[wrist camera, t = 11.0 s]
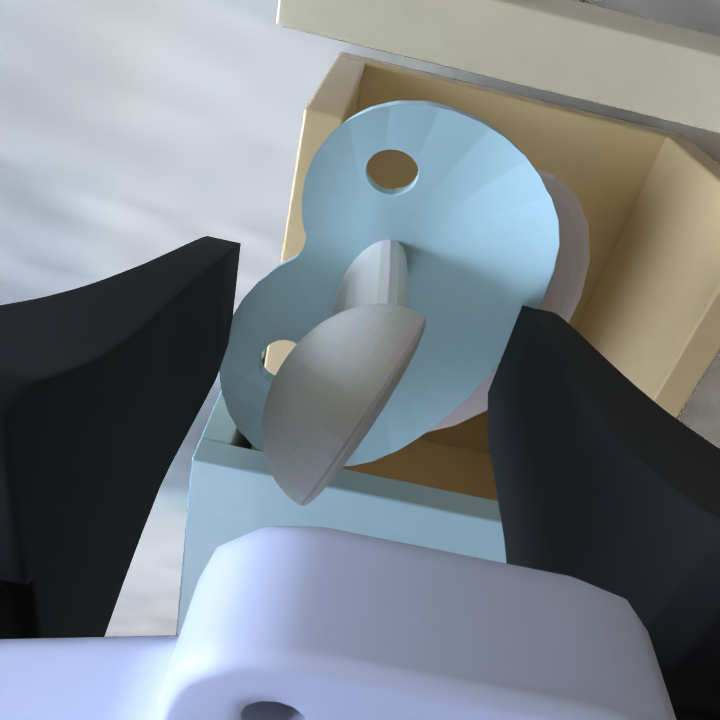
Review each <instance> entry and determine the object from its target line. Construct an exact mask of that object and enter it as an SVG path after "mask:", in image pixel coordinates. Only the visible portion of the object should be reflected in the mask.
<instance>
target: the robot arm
mask: <svg viewBox="0 0 720 720" xmlns="http://www.w3.org/2000/svg"><path fill="white" fill-rule="evenodd" d="M240 244H241V243H236V242H232V241H227V240H222V239H218V238H213V237H209V236H206V237H203V238H200V239H198V240H195V241H193V242H191V243H189V244H186V245H184V246H182V247H180V248H178V249H176V250H174V251H171V252H169V253H167V254H165V255H163V256H160V257H158V258H156V259H154V260H151V261H149V262H147V263H145V264H143V265H140V266H138V267H135V268H133V269H130V270H127V271H125V272H122V273H119V274H117V275H114V276H112V277H109V278H106V279H104V280H101V281H99V282H96V283H93V284H90V285H87V286H83V287H80V288H77V289H73V290H70V291H66V292H62V293H58V294H54V295H51V296H47V297H43V298H38V299H34V300H28V301H23V302H17V303H11V304H6V305H0V720H720V449H719V448H718V447H716V446H715V445H713V444H712V443H710V442H708V441H707V440H706V439H704V438H703V437H701V436H700V435H698V434H697V433H696V432H694V431H693V430H691V429H690V428H689V427H687V426H686V425H684V424H683V423H682V422H680V421H679V420H677V419H676V418H675V417H673V416H672V415H671V414H669V413H668V412H667V411H666V410H664V409H663V408H662V407H660V406H659V405H658V404H657V403H656V402H654V401H653V400H652V399H651V398H650V397H648V396H647V395H646V394H645V393H644V392H642V391H641V390H640V389H639V388H638V387H637V386H635V385H634V384H633V383H632V382H631V381H630V380H629V379H628V378H626V377H625V376H624V375H623V374H622V373H621V372H620V371H619V370H618V369H616V368H615V367H614V366H613V365H612V364H611V363H610V362H609V361H608V360H607V359H606V358H605V357H604V356H603V355H602V354H601V353H599V352H598V351H597V350H596V349H595V348H594V347H593V346H592V345H591V344H590V343H589V342H588V341H587V340H586V339H585V338H584V337H583V336H582V335H581V334H580V333H579V332H577V331H576V330H575V329H574V328H573V327H572V326H571V325H570V324H569V323H568V322H566V321H565V320H564V319H563V318H562V317H560V316H559V315H557V314H556V313H554V312H550V311H545V310H541V309H534V308H531V307H527V306H523V305H522V307H521V310H520V313H519V315H518V318H517V320H516V323H515V325H514V328H513V330H512V333H511V335H510V338H509V340H508V343H507V345H506V348H505V351H504V353H503V356H502V358H501V361H500V363H499V366H498V368H497V371H496V373H495V376H494V378H493V381H492V383H491V386H490V389H489V391H488V441H489V448H490V455H491V461H492V468H493V474H494V480H495V486H496V492H497V498H498V504H499V510H500V516H501V523H502V529H503V535H504V544H505V553H506V563H502V562H497V561H492V560H487V559H482V558H477V557H472V556H467V555H462V554H457V553H452V552H447V551H442V550H437V549H432V548H427V547H422V546H417V545H412V544H407V543H402V542H397V541H392V540H387V539H382V538H377V537H372V536H367V535H362V534H357V533H352V532H347V531H342V530H337V529H332V528H327V527H295V526H268V527H263V528H260V529H258V530H256V531H253V532H251V533H249V534H246V535H244V536H242V537H239V538H237V539H235V540H232V541H230V542H228V543H225V544H223V545H221V546H218V547H217V548H216V550H215V552H214V554H213V555H212V557H211V559H210V561H209V562H208V564H207V566H206V568H205V569H204V571H203V573H202V574H201V576H200V578H199V580H198V583H197V586H196V589H195V591H194V594H193V597H192V600H191V603H190V606H189V609H188V612H187V615H186V618H185V621H184V624H183V627H182V630H181V633H180V635H170V636H123V637H104V636H105V633H106V630H107V627H108V624H109V622H110V619H111V616H112V613H113V610H114V608H115V605H116V602H117V599H118V596H119V593H120V591H121V588H122V585H123V582H124V580H125V577H126V574H127V572H128V569H129V566H130V563H131V561H132V558H133V555H134V553H135V550H136V547H137V545H138V542H139V539H140V537H141V534H142V531H143V529H144V526H145V524H146V521H147V519H148V516H149V514H150V511H151V508H152V506H153V503H154V501H155V498H156V496H157V493H158V490H159V488H160V486H161V484H162V482H163V479H164V477H165V475H166V473H167V471H168V469H169V467H170V465H171V463H172V461H173V459H174V457H175V455H176V454H177V452H178V450H179V448H180V446H181V444H182V442H183V440H184V439H185V437H186V435H187V433H188V431H189V429H190V427H191V425H192V424H193V422H194V420H195V418H196V416H197V414H198V412H199V410H200V409H201V407H202V405H203V403H204V401H205V399H206V397H207V395H208V393H209V391H210V390H211V388H212V386H213V384H214V382H215V380H216V377H217V374H218V372H219V369H220V366H221V363H222V361H223V358H224V355H225V352H226V349H227V346H228V342H229V336H230V330H231V324H232V317H233V308H234V299H235V290H236V281H237V271H238V262H239V253H240Z"/></svg>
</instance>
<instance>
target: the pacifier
mask: <svg viewBox="0 0 720 720" xmlns="http://www.w3.org/2000/svg"><path fill="white" fill-rule="evenodd" d="M387 149H392V150H399V151H402V152H404V153H406V154H408V155H409V156H410V157H412V158H413V160H414V161H415V162H416V164H417V167H418V174H417V176H416V178H415V180H414V181H413V182H412V183H411V184H409V185H407V186H405V187H401V188H396V189H387V188H384V187H381V186H379V185H378V184H376V183H375V182H374V181H373V180H372V179H371V177H370V176H369V174H368V171H367V163H368V160H369V159H370V158H371V157H372V156H373V155H374V154H376V153H378V152H379V151H383V150H387ZM302 222H303V228H304V231H305V234H306V240H305V244H304V247H303V249H302V250H301V252H300V253H299V254H298V255H296V256H294V257H292V258H290V259H288V260H287V261H285V262H283V263H281V264H279V265H278V266H277V267H275V268H274V269H273V270H272V271H270V272H269V273H268V274H267V275H266V276H264V277H263V278H262V279H261V280H260V281H259V282H258V283H257V284H256V285H255V286H254V287H253V289H252V290H251V291H250V292H249V293H248V294H247V295H246V296H245V298H244V299H243V300H242V302H241V304H240V305H239V307H238V309H237V310H236V312H235V313H234V315H233V317H232V324H231V330H230V336H229V342H228V346H227V349H226V352H225V355H224V358H223V361H222V363H221V366H220V369H219V370H220V380H221V389H222V395H223V397H224V400H225V403H226V406H227V409H228V412H229V415H230V416H231V418H232V420H233V422H234V423H235V425H236V427H237V428H238V430H239V432H241V433H242V434H243V435H244V436H245V437H246V438H247V440H248V441H249V442H250V443H251V444H252V445H253V446H254V447H256V448H257V449H259V450H260V451H262V452H263V453H264V455H265V459H266V462H267V465H268V467H269V470H270V472H271V474H272V476H273V478H274V479H275V481H276V483H277V484H278V485H279V487H280V488H281V489H282V490H283V492H284V493H285V494H286V495H287V496H288V497H289V498H291V499H292V500H293V501H294V502H296V503H297V504H299V505H300V504H301V506H305V505H307V504H308V503H310V502H311V501H313V500H314V499H315V498H316V497H317V496H318V495H319V494H320V493H321V492H322V491H323V490H324V489H325V488H326V486H327V485H328V484H329V483H330V482H331V481H332V480H333V479H334V477H335V476H336V475H337V474H338V472H339V471H340V470H341V469H342V467H343V466H353V465H357V464H362V463H367V462H372V461H375V460H377V459H379V458H381V457H383V456H386V455H388V454H390V453H393V452H396V451H398V450H399V449H401V448H403V447H404V446H406V445H408V444H409V443H411V442H413V441H414V440H416V439H417V438H419V437H420V436H422V435H423V434H424V433H426V432H430V431H434V430H438V429H442V428H446V427H450V426H454V425H457V424H459V423H461V422H463V421H465V420H467V419H470V418H472V417H474V416H476V415H478V414H480V413H482V412H485V411H486V410H487V409H488V391H489V389H490V386H491V383H492V381H493V378H494V376H495V373H496V371H497V368H498V366H499V363H500V361H501V358H502V356H503V353H504V351H505V348H506V345H507V343H508V340H509V338H510V335H511V333H512V330H513V328H514V325H515V323H516V320H517V318H518V315H519V313H520V310H521V307H522V305H523V306H527V307H531V308H534V309H541V310H545V311H550V312H554V313H556V314H557V315H559V316H560V317H562V318H563V319H564V320H565V321H566V322H568V323H569V321H570V319H571V317H572V315H573V313H574V310H575V308H576V306H577V304H578V302H579V300H580V298H581V295H582V290H583V286H584V282H585V278H586V274H587V269H588V265H589V261H590V250H589V225H588V222H587V220H586V218H585V215H584V213H583V210H582V208H581V205H580V203H579V200H578V198H577V196H576V195H575V194H574V193H573V192H572V191H571V190H570V189H569V188H568V187H567V186H566V185H565V184H564V183H563V182H562V181H560V180H559V179H558V178H557V177H556V176H555V175H553V174H550V173H547V172H544V171H541V170H538V169H535V168H534V166H533V165H532V164H531V162H530V161H529V160H528V158H527V157H526V155H525V154H524V153H523V151H522V150H521V149H520V148H519V147H518V146H517V145H515V144H514V143H513V142H512V141H511V140H510V139H509V138H508V137H507V136H506V135H505V134H504V133H502V132H501V131H499V130H498V129H496V128H495V127H493V126H492V125H490V124H489V123H487V122H486V121H484V120H482V119H481V118H479V117H477V116H474V115H472V114H470V113H467V112H465V111H462V110H460V109H458V108H455V107H452V106H448V105H444V104H440V103H436V102H430V101H393V102H388V103H384V104H380V105H375V106H372V107H369V108H367V109H365V110H363V111H361V112H359V113H357V114H356V115H354V116H352V117H351V118H349V119H348V120H346V121H345V122H344V123H342V124H341V125H340V126H339V127H337V128H336V129H335V130H334V131H333V132H332V133H331V134H330V135H329V136H328V137H327V138H326V140H325V141H324V142H323V144H322V145H321V146H320V148H319V149H318V151H317V152H316V153H315V155H314V157H313V159H312V162H311V164H310V167H309V169H308V172H307V174H306V177H305V182H304V188H303V194H302ZM278 340H288V341H292V342H294V343H296V344H297V345H296V346H295V347H294V348H293V349H292V351H291V352H290V353H289V354H288V356H287V357H286V359H285V360H284V362H283V363H282V365H281V366H280V368H279V370H278V372H277V374H276V375H273V374H272V373H270V372H268V371H267V370H266V368H265V367H264V365H263V362H262V352H263V351H264V349H265V348H266V347H267V346H268V345H270V344H271V343H273V342H276V341H278Z"/></svg>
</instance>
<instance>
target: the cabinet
mask: <svg viewBox="0 0 720 720" xmlns="http://www.w3.org/2000/svg"><path fill="white" fill-rule="evenodd" d="M266 352H267V347H266V348H265V349H264V351H263V352H262V362H263V365H265V358H266ZM251 448H252V444H251V443H250V442H249V441H248V440H247V438H246V437H245V436H244V435H243V434H242V433H241V432H239V430H238V428H237V427H236V425H235V423H234V422H233V420H232V418H231V416H230V415H229V412H228V409H227V406H226V403H225V400H224V397H223V395H222V389H221V391H220V394H219V396H218V398H217V401H216V403H215V405H214V408H213V410H212V412H211V415H210V417H209V419H208V422H207V424H206V426H205V429H204V431H203V433H202V436H201V439H200V441H199V443H198V445H197V448H196V450H195V452H194V455H193V457H192V462H191V474H190V485H189V496H188V508H187V519H186V530H185V542H184V553H183V564H182V576H181V587H180V598H179V610H178V621H177V632H176V635H180V633H181V630H182V627H183V624H184V621H185V618H186V615H187V612H188V609H189V606H190V603H191V600H192V597H193V594H194V591H195V589H196V586H197V583H198V580H199V578H200V576H201V574H202V573H203V571H204V569H205V568H206V566H207V564H208V562H209V561H210V559H211V557H212V555H213V554H214V552H215V550H216V548H217V547H218V546H221V545H223V544H225V543H228V542H230V541H232V540H235V539H237V538H239V537H242V536H244V535H246V534H249V533H251V532H253V531H256V530H258V529H260V528H263V527H268V526H295V527H327V528H332V529H337V530H342V531H347V532H352V533H357V534H362V535H367V536H372V537H377V538H382V539H387V540H392V541H397V542H402V543H407V544H412V545H417V546H422V547H427V548H432V549H437V550H442V551H447V552H452V553H457V554H462V555H467V556H472V557H477V558H482V559H487V560H492V561H497V562H502V563H506V553H505V544H504V535H503V529H502V523H501V516H500V510H499V504H498V501H496V500H492V499H487V498H482V497H477V496H472V495H468V494H463V493H458V492H453V491H448V490H444V489H439V488H434V487H429V486H424V485H420V484H415V483H410V482H405V481H400V480H396V479H391V478H386V477H381V476H377V475H372V474H367V473H362V472H357V471H353V470H348V469H343V468H342V469H341V470H340V471H339V472H338V474H337V475H336V476H335V477H334V479H333V480H332V481H331V482H330V483H329V484H328V485H327V486H326V488H325V489H324V490H323V491H322V492H321V493H320V494H319V495H318V496H317V497H316V498H315V499H314V500H313V501H311V502H310V503H308V504H307V505H305V506H301V504H300V505H299V504H297V503H296V502H294V501H293V500H292V499H291V498H289V497H288V496H287V495H286V494H285V493H284V492H283V490H282V489H281V488H280V487H279V485H278V484H277V483H276V481H275V479H274V478H273V476H272V474H271V472H270V470H269V467H268V465H267V462H266V459H265V455H264V453H263V452H262V451H257V450H252V449H251Z"/></svg>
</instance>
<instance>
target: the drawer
mask: <svg viewBox="0 0 720 720" xmlns="http://www.w3.org/2000/svg"><path fill="white" fill-rule="evenodd" d="M276 22H277V25H279V26H282V27H286V28H291V29H295V30H299V31H303V32H307V33H311V34H315V35H319V36H323V37H327V38H331V39H336V40H340V41H344V42H348V43H352V44H356V45H360V46H364V47H368V48H372V49H377V50H381V51H385V52H389V53H393V54H397V55H401V56H405V57H409V58H413V59H418V60H422V61H426V62H430V63H434V64H438V65H442V66H446V67H450V68H454V69H459V70H463V71H467V72H471V73H475V74H479V75H483V76H487V77H491V78H495V79H500V80H504V81H508V82H512V83H516V84H520V85H524V86H528V87H532V88H536V89H540V90H545V91H549V92H553V93H557V94H561V95H565V96H569V97H573V98H577V99H581V100H586V101H590V102H594V103H598V104H602V105H606V106H610V107H614V108H618V109H622V110H627V111H631V112H635V113H639V114H643V115H647V116H651V117H655V118H659V119H663V120H668V121H672V122H676V123H680V124H684V125H688V126H692V127H696V128H700V129H704V130H709V131H713V132H717V133H720V37H719V36H715V35H711V34H707V33H703V32H699V31H695V30H691V29H687V28H683V27H679V26H675V25H671V24H667V23H664V22H660V21H656V20H652V19H648V18H644V17H640V16H636V15H632V14H628V13H624V12H620V11H616V10H612V9H608V8H604V7H600V6H596V5H592V4H588V3H584V2H580V1H576V0H279V4H278V12H277V20H276ZM393 101H430V102H436V103H440V104H444V105H448V106H452V107H455V108H458V109H460V110H462V111H465V112H467V113H470V114H472V115H474V116H477V117H479V118H481V119H482V120H484V121H486V122H487V123H489V124H490V125H492V126H493V127H495V128H496V129H498V130H499V131H501V132H502V133H504V134H505V135H506V136H507V137H508V138H509V139H510V140H511V141H512V142H513V143H514V144H515V145H517V146H518V147H519V148H520V149H521V150H522V151H523V153H524V154H525V155H526V157H527V158H528V160H529V161H530V162H531V164H532V165H533V166H534V168H535V169H538V170H541V171H544V172H547V173H550V174H553V175H555V176H556V177H557V178H558V179H559V180H560V181H562V182H563V183H564V184H565V185H566V186H567V187H568V188H569V189H570V190H571V191H572V192H573V193H574V194H575V195H576V196H577V198H578V200H579V203H580V205H581V208H582V210H583V213H584V215H585V218H586V220H587V222H588V225H589V250H590V261H589V265H588V269H587V274H586V278H585V282H584V286H583V290H582V295H581V298H580V300H579V302H578V304H577V306H576V308H575V310H574V313H573V315H572V317H571V319H570V321H569V324H570V325H571V326H572V327H573V328H574V329H575V330H576V331H577V332H579V333H580V334H581V335H582V336H583V337H584V338H585V339H586V340H587V341H588V342H589V343H590V344H591V345H592V346H593V347H594V348H595V349H596V350H597V351H598V352H599V353H601V354H602V355H603V356H604V357H605V358H606V359H607V360H608V361H609V362H610V363H611V364H612V365H613V366H614V367H615V368H616V369H618V370H619V371H620V372H621V373H622V374H623V375H624V376H625V377H626V378H628V379H629V380H630V381H631V382H632V383H633V384H634V385H635V386H637V387H638V388H639V389H640V390H641V391H642V392H644V393H645V394H646V395H647V396H648V397H650V398H651V399H652V400H653V401H654V402H656V403H657V404H658V405H659V406H660V407H662V408H663V409H664V410H666V411H667V412H668V413H669V414H671V415H672V416H673V417H675V418H677V417H678V415H679V414H680V412H681V410H682V409H683V407H684V406H685V404H686V402H687V401H688V399H689V398H690V396H691V394H692V393H693V391H694V390H695V388H696V386H697V385H698V383H699V382H700V380H701V378H702V377H703V375H704V374H705V372H706V370H707V369H708V367H709V366H710V364H711V362H712V361H713V359H714V358H715V356H716V354H717V353H718V351H719V350H720V164H719V163H718V162H716V161H715V160H714V159H713V158H711V157H710V156H709V155H708V154H706V153H705V152H704V151H703V150H701V149H700V148H699V147H698V146H696V145H695V144H694V143H692V142H691V141H690V140H688V139H687V138H686V137H685V136H683V135H682V134H678V133H674V132H670V131H666V130H662V129H658V128H654V127H650V126H645V125H641V124H637V123H633V122H629V121H625V120H621V119H617V118H613V117H608V116H604V115H600V114H596V113H592V112H588V111H584V110H580V109H575V108H571V107H567V106H563V105H559V104H555V103H551V102H547V101H543V100H538V99H534V98H530V97H526V96H522V95H518V94H514V93H510V92H506V91H501V90H497V89H493V88H489V87H485V86H481V85H477V84H473V83H469V82H464V81H460V80H456V79H452V78H448V77H444V76H440V75H436V74H432V73H427V72H423V71H419V70H415V69H411V68H407V67H403V66H399V65H395V64H390V63H386V62H382V61H378V60H374V59H370V58H366V57H362V56H358V55H353V54H349V53H345V52H340V54H339V56H338V57H337V59H336V60H335V62H334V63H333V65H332V67H331V68H330V70H329V71H328V73H327V75H326V76H325V78H324V79H323V81H322V83H321V84H320V86H319V87H318V89H317V91H316V92H315V94H314V95H313V97H312V99H311V100H310V102H309V103H308V105H307V107H306V108H305V110H304V115H303V121H302V128H301V134H300V140H299V147H298V153H297V160H296V166H295V172H294V179H293V185H292V192H291V198H290V204H289V211H288V217H287V224H286V230H285V237H284V243H283V249H282V256H281V262H280V264H281V263H283V262H285V261H287V260H288V259H290V258H292V257H294V256H296V255H298V254H299V253H300V252H301V250H302V249H303V247H304V244H305V240H306V234H305V231H304V228H303V222H302V194H303V188H304V182H305V177H306V174H307V172H308V169H309V167H310V164H311V162H312V159H313V157H314V155H315V153H316V152H317V151H318V149H319V148H320V146H321V145H322V144H323V142H324V141H325V140H326V138H327V137H328V136H329V135H330V134H331V133H332V132H333V131H334V130H335V129H336V128H337V127H339V126H340V125H341V124H342V123H344V122H345V121H346V120H348V119H349V118H351V117H352V116H354V115H356V114H357V113H359V112H361V111H363V110H365V109H367V108H369V107H372V106H375V105H380V104H384V103H388V102H393ZM367 171H368V174H369V176H370V177H371V179H372V180H373V181H374V182H375V183H376V184H378V185H379V186H381V187H384V188H387V189H396V188H401V187H405V186H407V185H409V184H411V183H412V182H413V181H414V180H415V178H416V176H417V174H418V167H417V164H416V162H415V161H414V160H413V158H412V157H410V156H409V155H408V154H406V153H404V152H402V151H399V150H392V149H387V150H383V151H379V152H378V153H376V154H374V155H373V156H372V157H371V158H370V159H369V160H368V163H367ZM296 345H297V344H296V343H294V342H292V341H288V340H278V341H276V342H273V343H271V344H270V345H268V346H267V352H266V358H265V365H264V367H265V368H266V370H267V371H268V372H270V373H272V374H273V375H276V374H277V372H278V370H279V368H280V366H281V365H282V363H283V362H284V360H285V359H286V357H287V356H288V354H289V353H290V352H291V351H292V349H293V348H294V347H295V346H296ZM251 449H252V450H257V451H260V450H259V449H257V448H256V447H254V446H253V445H252V448H251ZM342 468H343V469H348V470H353V471H357V472H362V473H367V474H372V475H377V476H381V477H386V478H391V479H396V480H400V481H405V482H410V483H415V484H420V485H424V486H429V487H434V488H439V489H444V490H448V491H453V492H458V493H463V494H468V495H472V496H477V497H482V498H487V499H492V500H496V501H498V498H497V492H496V486H495V480H494V474H493V468H492V461H491V455H490V448H489V441H488V409H487V410H486V411H485V412H482V413H480V414H478V415H476V416H474V417H472V418H470V419H467V420H465V421H463V422H461V423H459V424H457V425H454V426H450V427H446V428H442V429H438V430H434V431H430V432H426V433H424V434H423V435H422V436H420V437H419V438H417V439H416V440H414V441H413V442H411V443H409V444H408V445H406V446H404V447H403V448H401V449H399V450H398V451H396V452H393V453H390V454H388V455H386V456H383V457H381V458H379V459H377V460H375V461H372V462H367V463H362V464H357V465H353V466H343V467H342Z"/></svg>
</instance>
